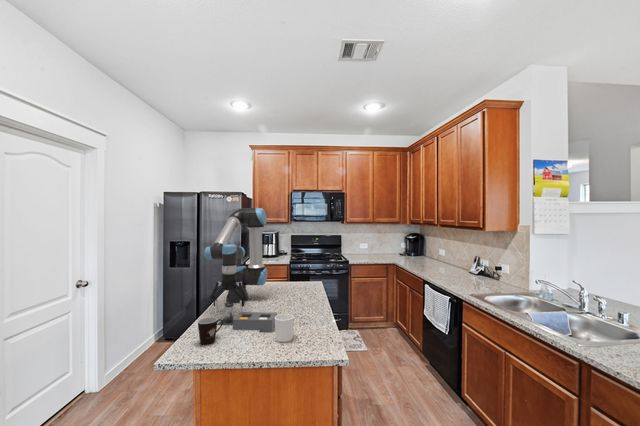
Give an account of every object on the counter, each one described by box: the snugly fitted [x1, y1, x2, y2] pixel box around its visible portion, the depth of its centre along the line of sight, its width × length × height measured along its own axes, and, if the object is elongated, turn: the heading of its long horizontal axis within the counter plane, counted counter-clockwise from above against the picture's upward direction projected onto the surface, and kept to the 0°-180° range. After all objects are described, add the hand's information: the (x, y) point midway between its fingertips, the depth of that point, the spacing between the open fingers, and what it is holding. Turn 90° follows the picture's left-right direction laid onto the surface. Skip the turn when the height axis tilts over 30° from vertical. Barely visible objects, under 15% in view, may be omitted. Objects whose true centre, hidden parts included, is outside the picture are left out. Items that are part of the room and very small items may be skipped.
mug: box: [274, 313, 295, 344], centre depth 137 cm, size 11×9×10 cm
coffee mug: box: [197, 316, 224, 346], centre depth 134 cm, size 12×9×10 cm
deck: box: [217, 318, 233, 326], centre depth 157 cm, size 10×10×1 cm
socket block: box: [232, 311, 278, 333], centre depth 151 cm, size 12×20×6 cm, turn 87°
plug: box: [224, 301, 235, 323], centre depth 157 cm, size 5×5×10 cm
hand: (228, 312), depth 157 cm, fingers open, 13 cm apart
